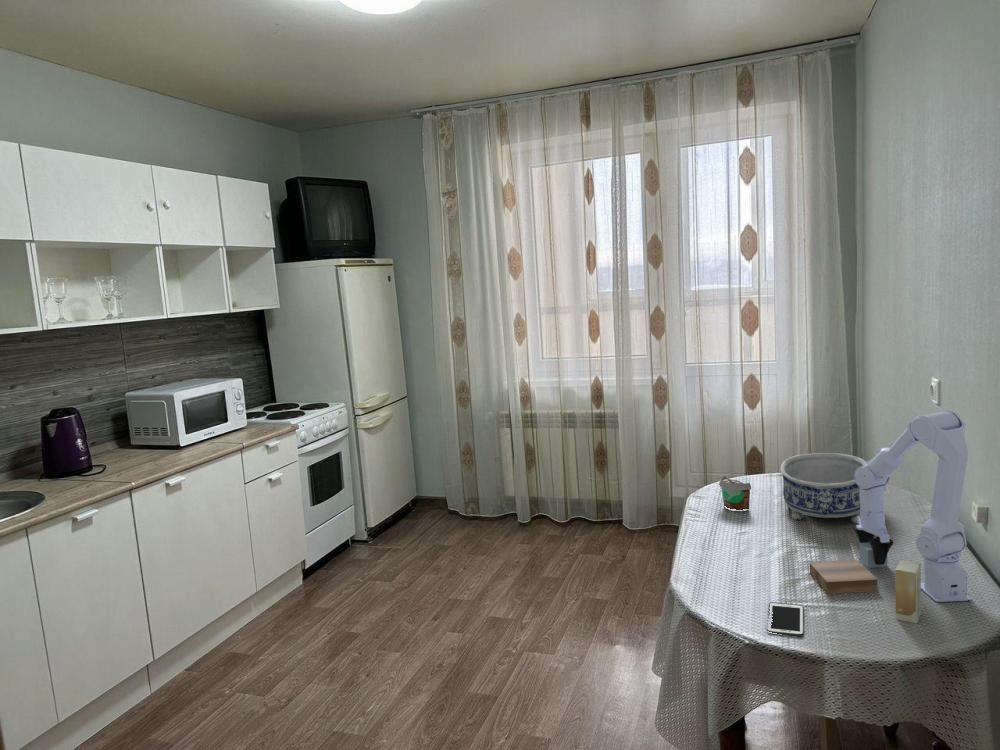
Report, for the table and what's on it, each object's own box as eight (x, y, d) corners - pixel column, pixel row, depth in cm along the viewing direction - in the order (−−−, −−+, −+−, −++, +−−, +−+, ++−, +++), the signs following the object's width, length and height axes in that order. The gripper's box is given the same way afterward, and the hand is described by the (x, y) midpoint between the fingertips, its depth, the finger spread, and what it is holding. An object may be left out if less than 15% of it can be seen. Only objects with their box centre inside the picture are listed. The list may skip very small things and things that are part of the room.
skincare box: (900, 608, 163) (899, 558, 161) (921, 612, 160) (921, 562, 158) (894, 620, 158) (894, 568, 156) (916, 624, 155) (916, 572, 154)
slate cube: (887, 567, 184) (887, 549, 184) (867, 568, 185) (867, 550, 184) (878, 559, 189) (878, 541, 189) (859, 560, 190) (859, 543, 189)
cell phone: (803, 608, 167) (803, 604, 167) (803, 639, 154) (803, 634, 154) (769, 605, 171) (769, 601, 170) (766, 635, 157) (766, 631, 157)
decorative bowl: (876, 535, 205) (875, 486, 203) (779, 529, 216) (778, 483, 214) (865, 490, 244) (864, 449, 242) (783, 488, 255) (782, 448, 253)
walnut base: (877, 590, 172) (877, 579, 171) (827, 593, 173) (827, 582, 173) (856, 570, 184) (856, 559, 183) (809, 573, 185) (809, 562, 184)
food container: (712, 506, 242) (711, 478, 241) (726, 502, 245) (724, 475, 243) (738, 515, 231) (737, 486, 230) (752, 511, 233) (751, 483, 232)
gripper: (845, 501, 193) (846, 548, 194) (868, 520, 178) (870, 570, 180) (871, 500, 192) (872, 547, 194) (897, 518, 178) (898, 568, 180)
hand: (873, 558), depth 187 cm, fingers open, 7 cm apart
